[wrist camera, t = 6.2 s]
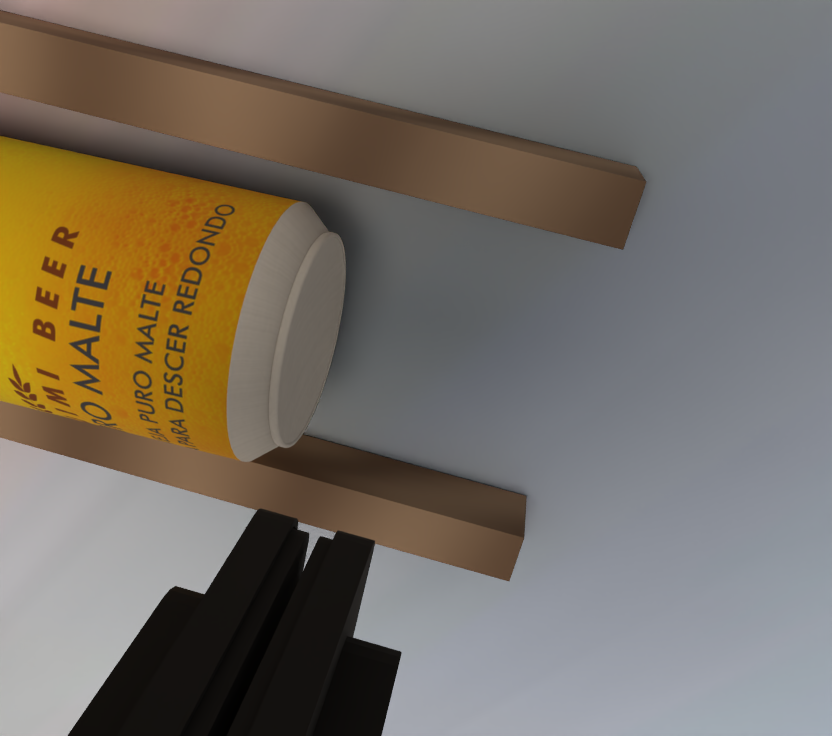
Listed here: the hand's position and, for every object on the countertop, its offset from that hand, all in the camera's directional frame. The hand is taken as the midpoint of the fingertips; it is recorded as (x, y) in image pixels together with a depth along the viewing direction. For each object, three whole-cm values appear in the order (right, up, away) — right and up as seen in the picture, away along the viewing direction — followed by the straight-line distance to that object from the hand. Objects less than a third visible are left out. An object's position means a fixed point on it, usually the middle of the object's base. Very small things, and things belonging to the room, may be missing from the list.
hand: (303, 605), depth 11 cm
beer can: (-1, +4, +7) cm, 8 cm away
